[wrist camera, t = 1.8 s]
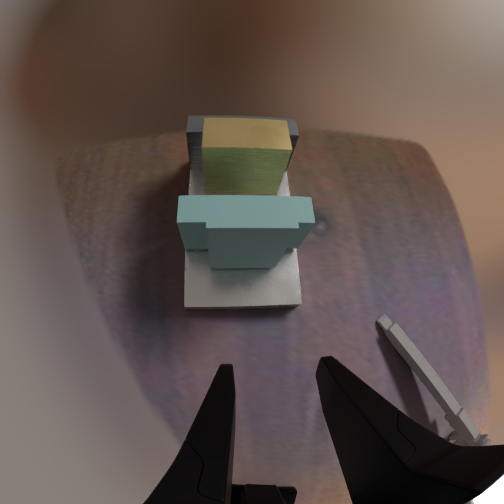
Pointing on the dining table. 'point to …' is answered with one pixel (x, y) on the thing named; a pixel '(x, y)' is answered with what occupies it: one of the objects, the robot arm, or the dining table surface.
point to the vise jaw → (244, 227)
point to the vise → (236, 279)
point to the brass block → (244, 155)
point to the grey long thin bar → (435, 387)
